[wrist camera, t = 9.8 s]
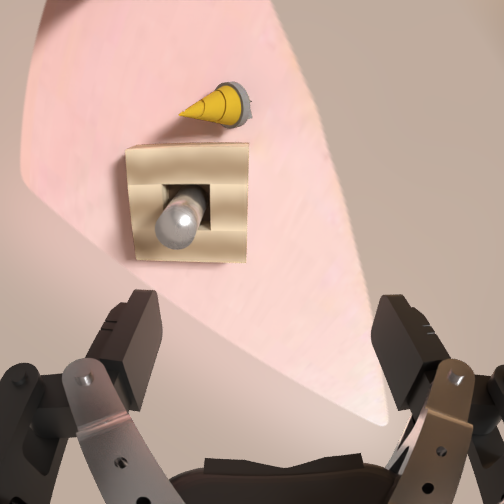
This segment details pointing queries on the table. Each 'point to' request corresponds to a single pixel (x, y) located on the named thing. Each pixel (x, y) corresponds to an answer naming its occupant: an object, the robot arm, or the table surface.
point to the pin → (182, 217)
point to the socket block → (183, 173)
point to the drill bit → (223, 106)
